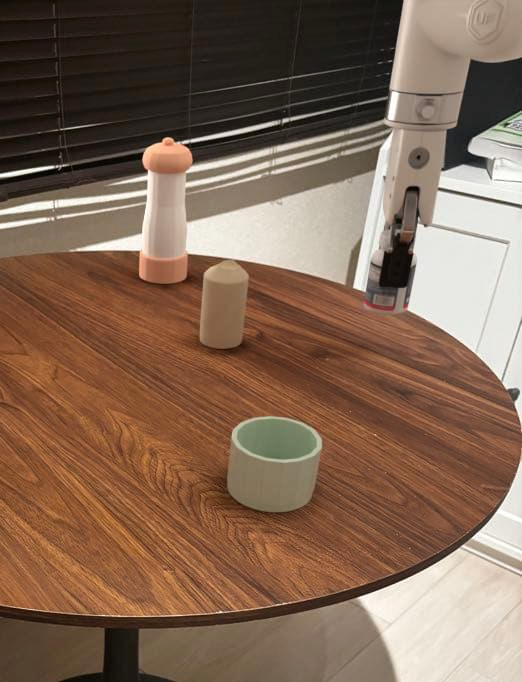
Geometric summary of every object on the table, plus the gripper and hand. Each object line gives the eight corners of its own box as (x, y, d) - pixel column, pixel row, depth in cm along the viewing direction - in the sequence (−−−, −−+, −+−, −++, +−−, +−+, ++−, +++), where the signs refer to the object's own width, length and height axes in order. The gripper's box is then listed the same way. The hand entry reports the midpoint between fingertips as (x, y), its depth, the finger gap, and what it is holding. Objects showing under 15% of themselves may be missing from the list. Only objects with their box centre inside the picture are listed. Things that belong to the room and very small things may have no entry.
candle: (209, 328, 108) (215, 253, 101) (248, 337, 106) (256, 260, 99) (192, 344, 104) (197, 266, 98) (232, 352, 102) (240, 273, 96)
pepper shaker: (143, 265, 127) (146, 131, 115) (189, 269, 126) (197, 133, 114) (135, 282, 121) (137, 142, 109) (183, 285, 120) (191, 145, 108)
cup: (313, 469, 80) (322, 421, 77) (312, 517, 74) (322, 466, 71) (230, 460, 82) (235, 412, 78) (222, 506, 75) (228, 456, 72)
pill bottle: (390, 298, 102) (404, 225, 97) (416, 312, 98) (432, 237, 93) (354, 303, 101) (366, 230, 95) (379, 318, 97) (393, 242, 92)
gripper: (470, 124, 79) (430, 305, 90) (449, 97, 93) (416, 257, 103) (391, 123, 80) (361, 301, 91) (381, 96, 94) (356, 254, 105)
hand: (390, 276), depth 97 cm, fingers closed on pill bottle, 5 cm apart
